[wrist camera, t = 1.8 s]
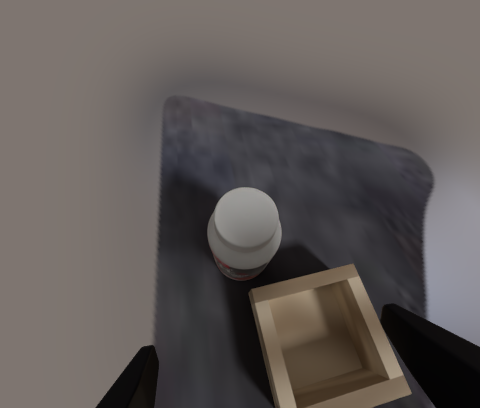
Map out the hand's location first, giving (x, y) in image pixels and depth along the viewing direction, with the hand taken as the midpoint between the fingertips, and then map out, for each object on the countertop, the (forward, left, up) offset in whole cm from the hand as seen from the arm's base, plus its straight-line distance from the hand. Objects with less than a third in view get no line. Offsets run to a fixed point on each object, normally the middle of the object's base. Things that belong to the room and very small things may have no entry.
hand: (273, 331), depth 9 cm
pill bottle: (+6, -1, -12) cm, 14 cm away
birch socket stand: (-2, -5, -12) cm, 13 cm away
